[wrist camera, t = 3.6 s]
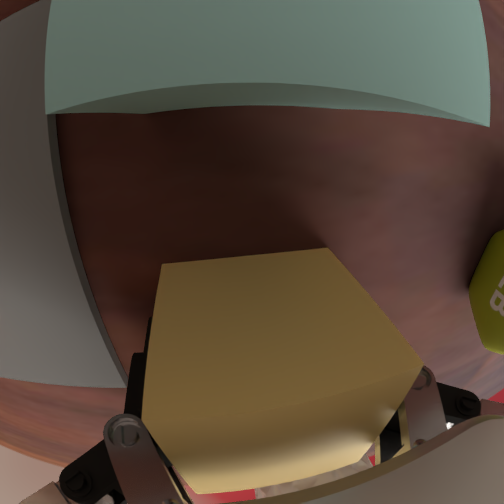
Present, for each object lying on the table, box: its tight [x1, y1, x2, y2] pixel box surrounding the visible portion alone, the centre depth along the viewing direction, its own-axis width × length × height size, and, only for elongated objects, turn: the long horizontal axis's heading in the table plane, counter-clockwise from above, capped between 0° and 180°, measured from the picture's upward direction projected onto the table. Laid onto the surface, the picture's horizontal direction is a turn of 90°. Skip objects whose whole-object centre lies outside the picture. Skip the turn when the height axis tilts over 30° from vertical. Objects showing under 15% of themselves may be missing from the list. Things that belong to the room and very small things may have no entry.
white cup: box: [255, 453, 373, 499], centre depth 12 cm, size 8×8×10 cm
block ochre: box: [142, 248, 424, 494], centre depth 9 cm, size 6×6×6 cm
